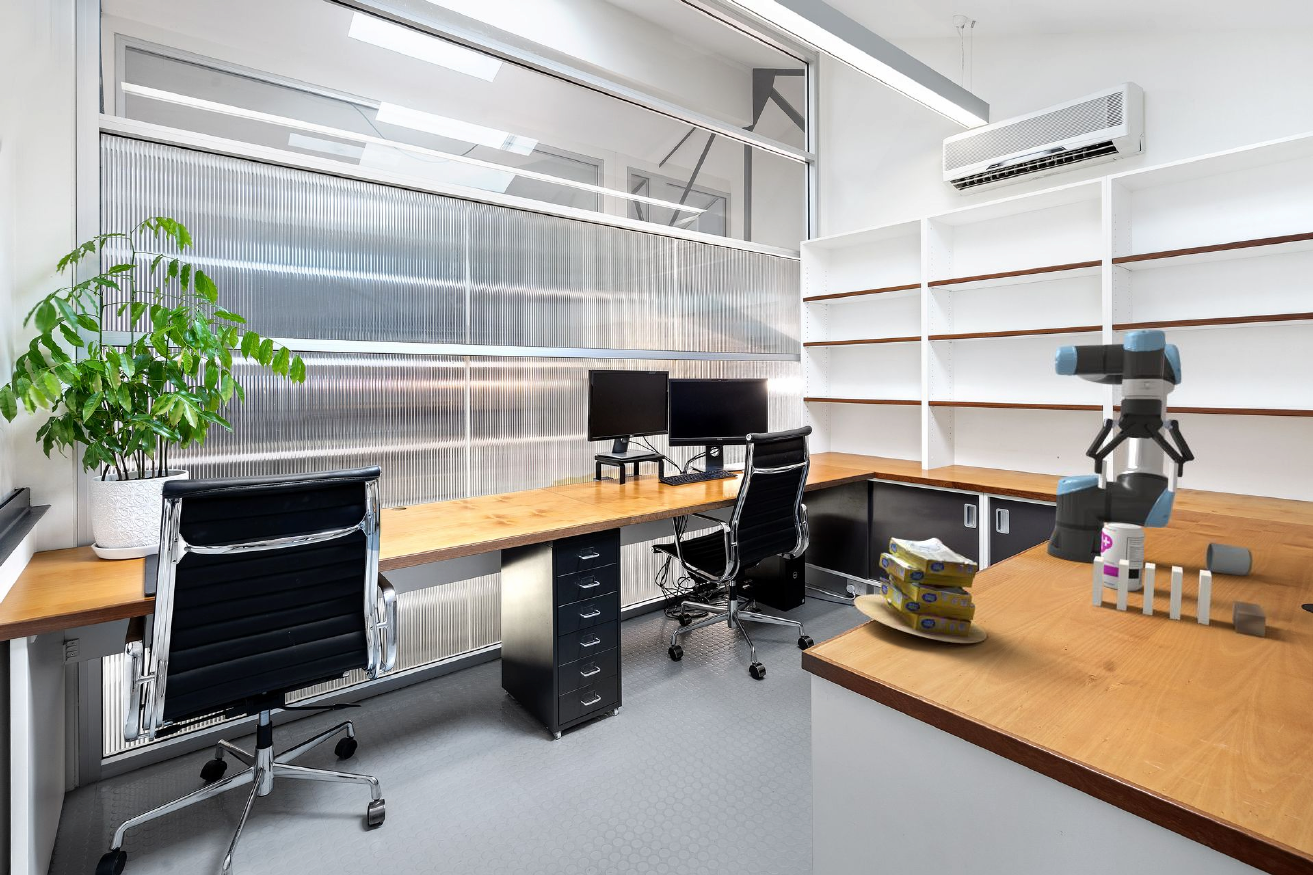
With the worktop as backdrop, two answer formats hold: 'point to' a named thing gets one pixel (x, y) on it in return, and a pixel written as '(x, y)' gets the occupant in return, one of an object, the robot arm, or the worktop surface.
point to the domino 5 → (1204, 597)
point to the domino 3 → (1149, 588)
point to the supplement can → (1122, 553)
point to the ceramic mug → (1228, 559)
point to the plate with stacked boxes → (925, 592)
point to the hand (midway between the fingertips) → (1136, 489)
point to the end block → (1249, 619)
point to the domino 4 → (1176, 592)
